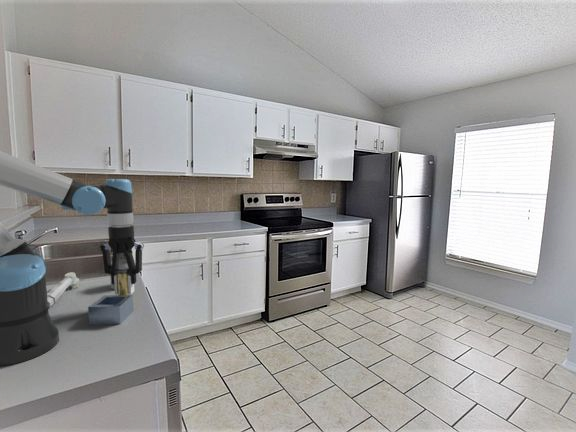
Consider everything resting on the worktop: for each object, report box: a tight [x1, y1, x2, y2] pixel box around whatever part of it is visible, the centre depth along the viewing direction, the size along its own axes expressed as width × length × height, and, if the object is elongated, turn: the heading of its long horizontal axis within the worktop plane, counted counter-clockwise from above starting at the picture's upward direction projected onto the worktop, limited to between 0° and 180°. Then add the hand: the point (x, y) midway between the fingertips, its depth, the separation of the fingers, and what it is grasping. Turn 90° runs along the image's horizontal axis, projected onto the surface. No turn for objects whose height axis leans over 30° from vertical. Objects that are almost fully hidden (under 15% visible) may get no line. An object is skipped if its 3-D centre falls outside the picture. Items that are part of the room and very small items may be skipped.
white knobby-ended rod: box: [47, 271, 80, 310], centre depth 111 cm, size 5×7×25 cm
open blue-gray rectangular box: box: [87, 294, 134, 326], centre depth 95 cm, size 9×9×6 cm
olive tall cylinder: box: [117, 267, 133, 295], centre depth 104 cm, size 4×4×13 cm
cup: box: [109, 258, 128, 290], centre depth 123 cm, size 8×8×10 cm
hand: (124, 292), depth 104 cm, fingers closed on olive tall cylinder, 4 cm apart
